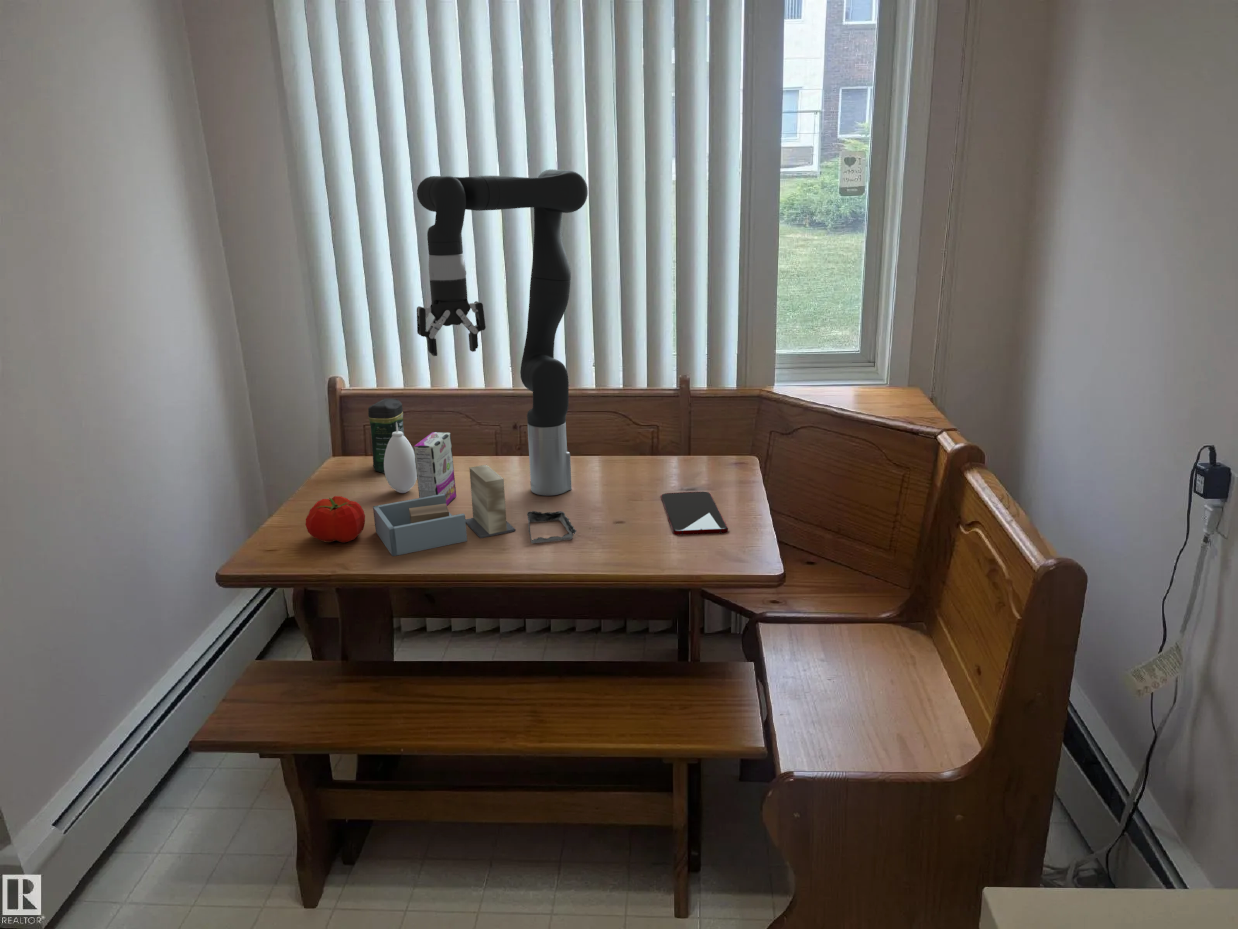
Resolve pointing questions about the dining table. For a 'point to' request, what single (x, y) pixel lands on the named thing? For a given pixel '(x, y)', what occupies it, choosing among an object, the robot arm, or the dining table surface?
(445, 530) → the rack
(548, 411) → the robot arm
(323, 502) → the tomato
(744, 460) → the dining table surface
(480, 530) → the mat
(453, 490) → the candy bar box
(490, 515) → the beige hardcover book
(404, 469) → the sauce bottle
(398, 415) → the coffee jar
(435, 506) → the offcut block upper
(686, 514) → the smartphone
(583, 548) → the dining table surface
